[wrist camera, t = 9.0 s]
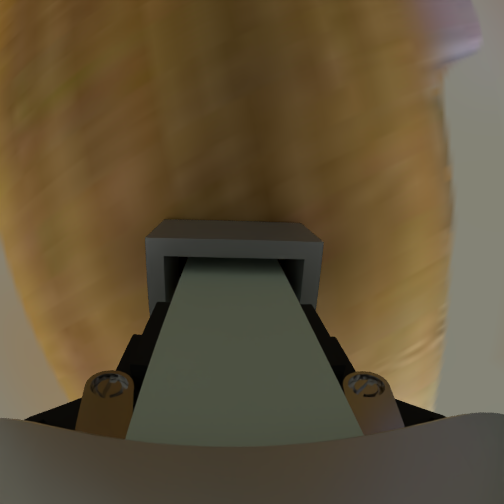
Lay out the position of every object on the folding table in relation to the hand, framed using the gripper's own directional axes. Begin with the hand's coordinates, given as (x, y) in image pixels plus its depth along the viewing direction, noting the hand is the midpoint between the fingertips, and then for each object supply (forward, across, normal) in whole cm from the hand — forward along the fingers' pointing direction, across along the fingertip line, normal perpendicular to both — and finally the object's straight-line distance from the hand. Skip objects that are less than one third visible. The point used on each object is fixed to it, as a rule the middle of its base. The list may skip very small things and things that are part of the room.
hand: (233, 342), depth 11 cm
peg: (+4, 0, 0) cm, 4 cm away
